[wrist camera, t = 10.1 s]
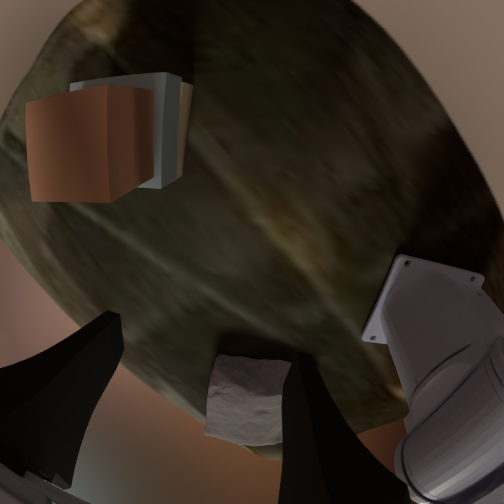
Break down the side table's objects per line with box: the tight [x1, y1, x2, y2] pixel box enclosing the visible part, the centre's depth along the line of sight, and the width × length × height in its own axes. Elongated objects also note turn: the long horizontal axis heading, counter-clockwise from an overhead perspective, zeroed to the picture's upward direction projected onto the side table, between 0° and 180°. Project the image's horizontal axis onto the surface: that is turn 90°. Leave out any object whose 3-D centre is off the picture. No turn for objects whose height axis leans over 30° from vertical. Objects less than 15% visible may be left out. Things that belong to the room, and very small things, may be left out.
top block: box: [70, 72, 182, 189], centre depth 15 cm, size 6×6×2 cm
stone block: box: [204, 354, 291, 446], centre depth 27 cm, size 12×5×10 cm
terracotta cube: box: [26, 85, 155, 203], centre depth 12 cm, size 4×4×4 cm
